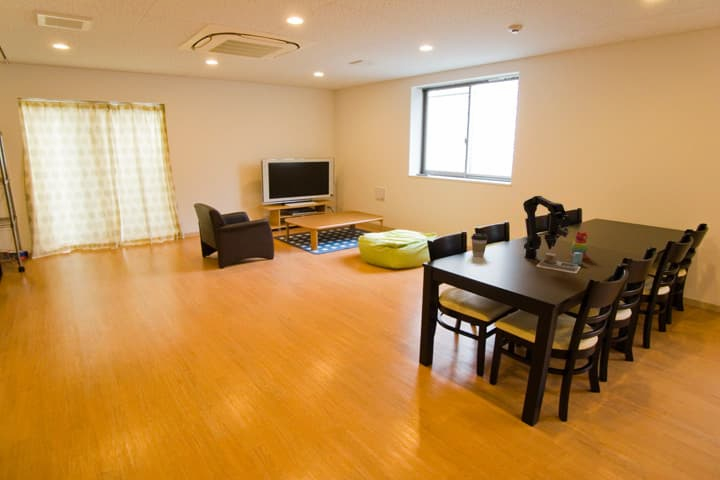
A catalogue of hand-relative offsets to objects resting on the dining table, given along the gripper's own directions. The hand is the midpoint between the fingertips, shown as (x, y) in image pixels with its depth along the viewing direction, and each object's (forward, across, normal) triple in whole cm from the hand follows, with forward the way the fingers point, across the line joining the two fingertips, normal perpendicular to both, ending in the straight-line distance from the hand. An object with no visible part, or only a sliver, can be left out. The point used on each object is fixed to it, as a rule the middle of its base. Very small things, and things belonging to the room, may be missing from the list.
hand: (551, 247), depth 257 cm
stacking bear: (+12, +34, -11) cm, 38 cm away
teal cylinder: (+12, +16, -13) cm, 24 cm away
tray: (+12, 0, -5) cm, 13 cm away
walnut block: (+11, 0, 0) cm, 11 cm away
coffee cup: (+12, -6, +45) cm, 47 cm away
